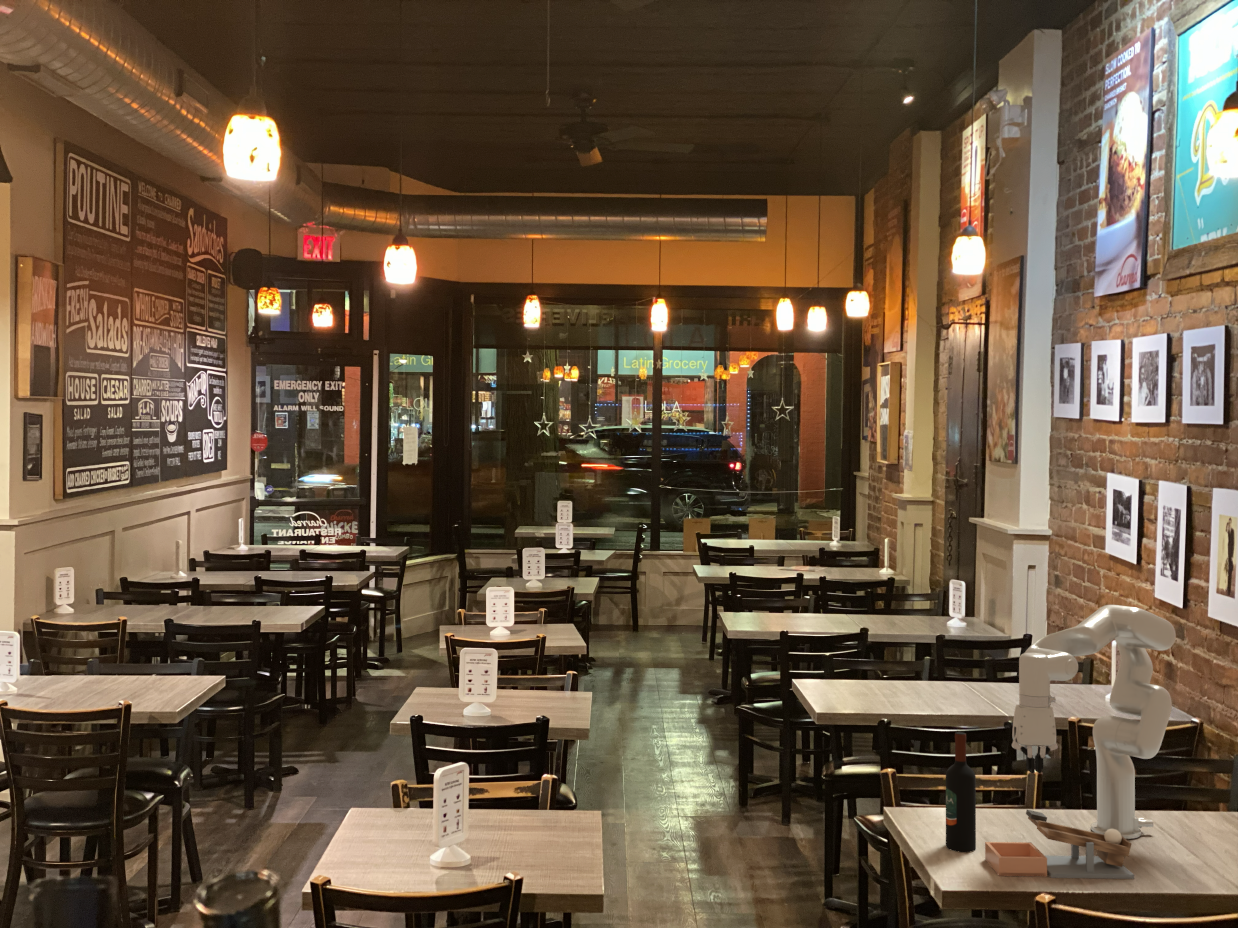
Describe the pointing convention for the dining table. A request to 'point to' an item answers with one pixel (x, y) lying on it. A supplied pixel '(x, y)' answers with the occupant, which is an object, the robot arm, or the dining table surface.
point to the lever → (1081, 839)
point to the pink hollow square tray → (1015, 859)
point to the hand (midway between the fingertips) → (1034, 771)
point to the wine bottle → (960, 801)
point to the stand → (1084, 866)
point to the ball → (1113, 836)
